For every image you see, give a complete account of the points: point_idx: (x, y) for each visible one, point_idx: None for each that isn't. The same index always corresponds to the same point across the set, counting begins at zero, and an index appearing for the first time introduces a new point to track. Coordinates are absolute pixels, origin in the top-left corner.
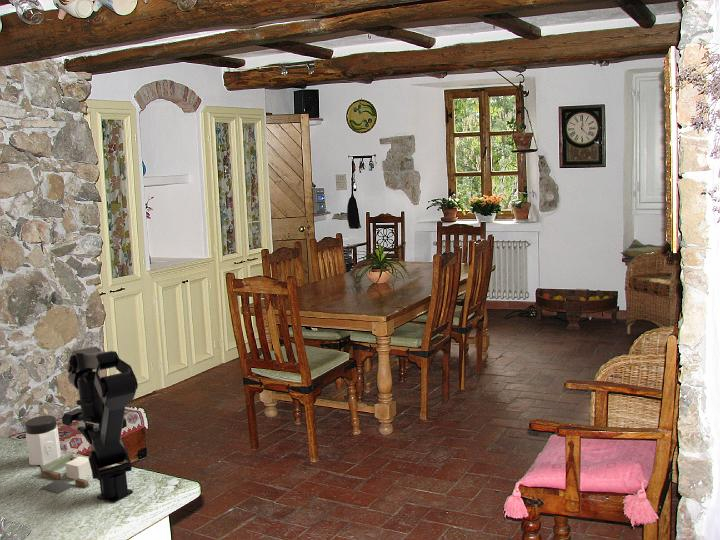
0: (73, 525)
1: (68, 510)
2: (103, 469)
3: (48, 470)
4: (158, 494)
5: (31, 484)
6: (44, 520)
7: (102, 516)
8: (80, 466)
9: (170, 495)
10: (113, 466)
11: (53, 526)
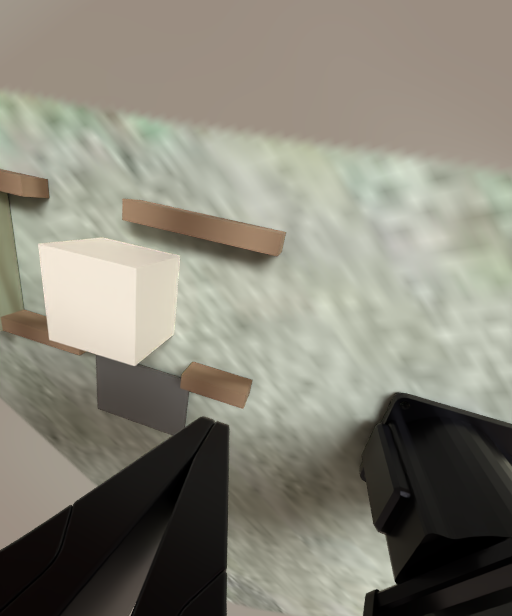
0: None
1: (305, 530)
2: (428, 600)
3: (16, 323)
4: None
5: (48, 381)
6: (272, 568)
7: None
8: (139, 350)
9: None
10: (493, 575)
11: (323, 597)
